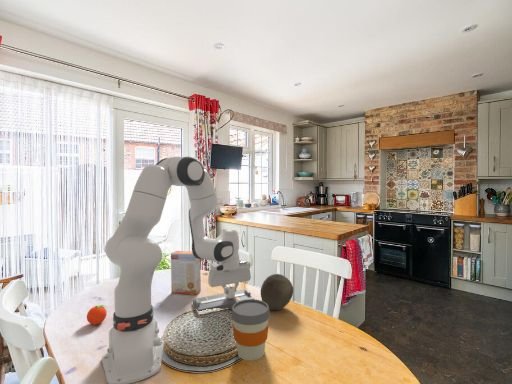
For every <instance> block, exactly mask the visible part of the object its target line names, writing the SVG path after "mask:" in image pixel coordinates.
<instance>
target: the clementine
mask: <svg viewBox="0 0 512 384" xmlns="http://www.w3.org/2000/svg"><path fill="white" fill-rule="evenodd" d="M105 307H106V305H103V304H100V305H95V306H93V307H91V308H90V309H89V310H88V312H87V313H86V321H87V322H88V323H89V324H91V325H94V326H95V325H100V324H101V323H103V322H104V321H105V319H106V317H107V315H108V314H107V313H108V311H107V309H106V308H105Z"/></svg>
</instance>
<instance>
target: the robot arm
mask: <svg viewBox="0 0 512 384" xmlns="http://www.w3.org/2000/svg"><path fill="white" fill-rule="evenodd" d="M204 167H205V166H203V164H202V162H201V161H200V160H199V159H198V158H196V157H193V156H172V157H165V158H163V159H160V160H159V161H158V162H156V164H149V165H146V166H145V167H144V168H143V169H142V170H141V172H140V174H139V176H138V178H137V180H136V183H135V185H134V186H133V191H132V194H131V197H130V199H129V202H128V205H127V208H126V211H125V213H124V216H123V218H122V219H121V221H120V223H119V225H118V226H117V229H116V230H115V232H114V234H113V235H112V236H111V237H109V239H108V240H107V241H106V243H105V246H104V247H105V248H104V253H105V255H106V256H107V258H108V259H109V261H111V263H112V264H114V265H117V266H118V267H119V270H120V274H119V279H118V282H117V285H116V286H115V288H114V291H113V292H114V293H113V294H114V312H113V318H112V321H113V323H112V326H113V327H111V328H110V329H109V330H108V348H107V350H106V352H105V353H103V355H102V356H101V362H102V366H103V371H104V375H105V379H106V383H107V384H133V383H136V382H139V381H142V380H146V379H148V378H150V377H152V376H153V375H155V374H157V373H158V372H160V370H161V368H162V367H161V366H162V363H163V362H162V360H163V356H164V355H163V354H164V349H165V341H164V340H163V339H161V338H160V337H159V333H160V328H158V320H157V319H155V318H154V307H153V305H152V282H153V278H154V273H155V270H156V269H157V268H158V267H159V266H160V265H161V262H162V260H163V259H162V258H163V250H162V248H161V246H160V245H158V244H157V242H155V241H154V240H152V239H151V238H148V237H149V235H150V233H151V232H152V230H153V229H154V227H155V226H156V225H158V224H159V222H160V220H161V218H162V214H163V211H164V208H165V204H166V201H167V196H168V193H169V190H170V188H171V187H172V186H176V187H185V189H186V190H187V195H188V200H189V203H190V206H189V207H190V208H189V210H188V221H189V227H190V228H189V229H190V234H191V235H190V236H191V251H192V253H193V255H194V256H195V257H196V258H197V259H200V260H207V261H210V262H211V263H210V268H211V269H210V270H209V273H208V282H207V283H208V284H209V285H208V286H210V288H215V287H222V289H223V293H225V294H228V289H226V285H230V284H231V285H233V284H234V286H233V287H234V288H235V292H236V291H237V289H238V286H239V283H243V282H249V281H250V280H251V279H252V277H251V276H252V275H251V270H250V269H251V263H250V262H249V261H247V260H246V261H240V254H239V250H240V239H239V238H240V237H239V233H238V231H236V230H233V229H227V228H226V229H225V228H224V229H221V232H220V234H219V235H218V236H217V237H216V238H211V237H208V236H207V235H206V233H205V226H204V225H205V224H204V218H205V217H207V216H208V215H209V216H210V215H211V214H212V213H213V212H214V211H215V210H216V208H217V206H218V197H217V192H216V190H215V189H216V188H215V186H214V183H213V180H212V178H211V175H210V173H209V172H208V170H206V169H205V168H204ZM163 341H164V342H163Z"/></svg>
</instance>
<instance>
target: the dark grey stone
mask: <svg viewBox="0 0 512 384" xmlns="http://www.w3.org/2000/svg"><path fill="white" fill-rule="evenodd" d="M293 295H294V287H293V284H292V281H291V280H290V279H289V278H287V277H286V276H285V275H283V274H280V273H274V274H271V275H269V276H267V277H266V279H265V280H263V283H262V284H261V287H260V297H261V301H263V302H265V303H267V304H268V306H269V310H272V311H279V310H282V309H283V308H285V307H287V306H288V304H289V303H290V302H291V300H292V297H293Z"/></svg>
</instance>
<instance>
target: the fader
mask: <svg viewBox="0 0 512 384" xmlns="http://www.w3.org/2000/svg"><path fill="white" fill-rule="evenodd" d="M225 288H226V289H228V294H226V295H227V296H228V298H229V299H231V298H235V288H234V286H233V284H227V285H226V287H225Z"/></svg>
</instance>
